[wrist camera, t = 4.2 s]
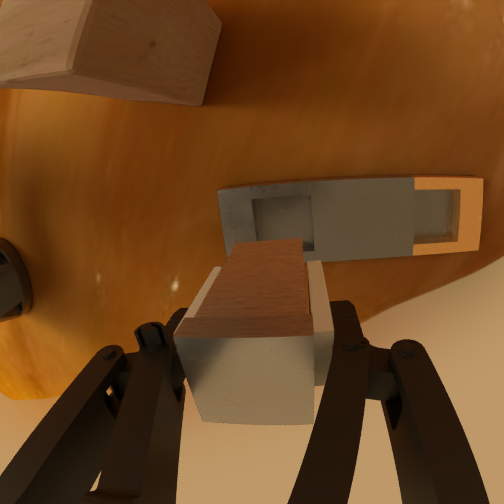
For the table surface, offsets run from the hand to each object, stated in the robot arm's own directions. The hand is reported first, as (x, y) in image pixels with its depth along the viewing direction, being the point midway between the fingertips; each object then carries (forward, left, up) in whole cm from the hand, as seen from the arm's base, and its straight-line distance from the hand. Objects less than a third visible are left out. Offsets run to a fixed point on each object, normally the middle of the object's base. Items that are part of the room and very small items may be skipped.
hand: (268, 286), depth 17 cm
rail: (+8, 0, -15) cm, 17 cm away
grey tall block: (0, 0, -2) cm, 2 cm away
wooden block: (-10, +19, -15) cm, 26 cm away
